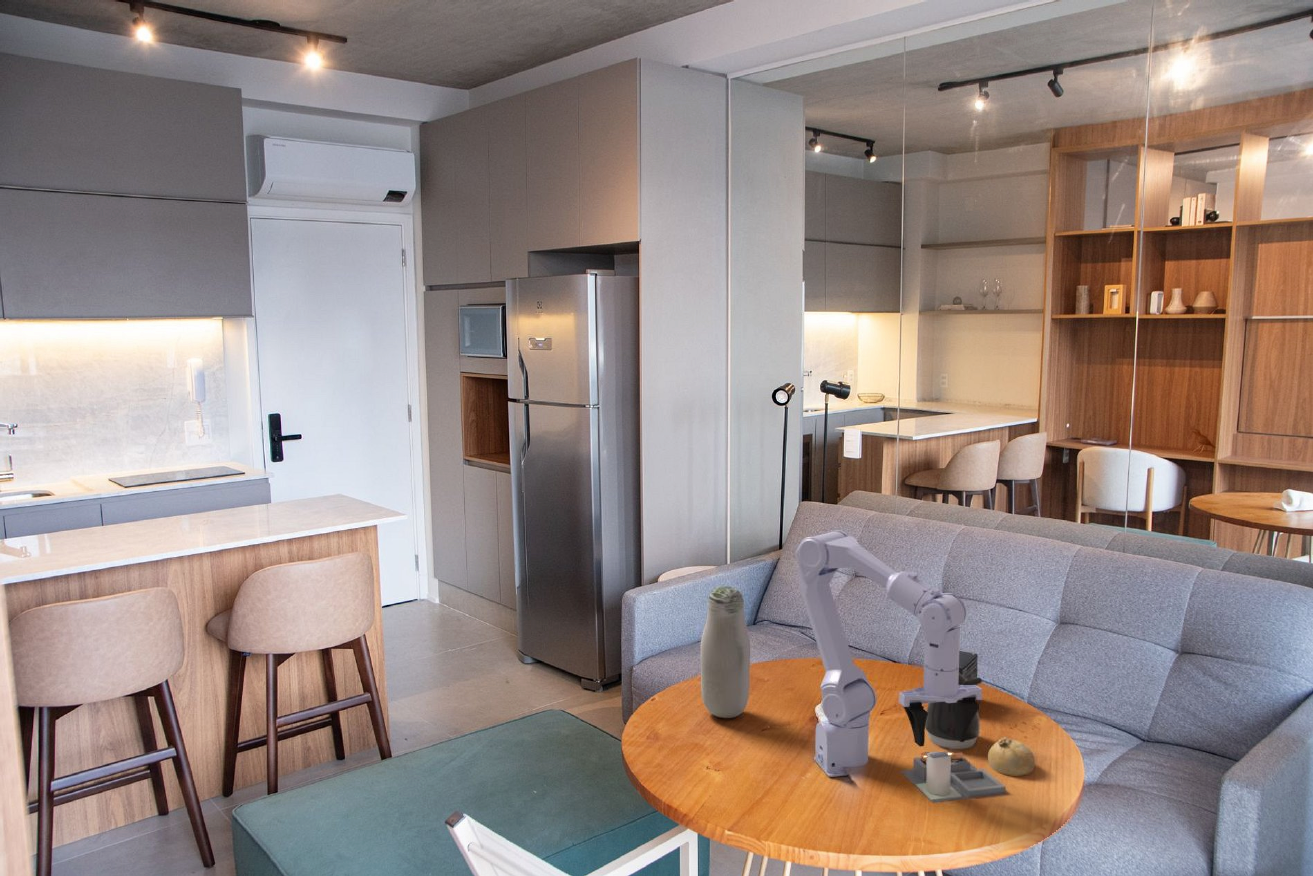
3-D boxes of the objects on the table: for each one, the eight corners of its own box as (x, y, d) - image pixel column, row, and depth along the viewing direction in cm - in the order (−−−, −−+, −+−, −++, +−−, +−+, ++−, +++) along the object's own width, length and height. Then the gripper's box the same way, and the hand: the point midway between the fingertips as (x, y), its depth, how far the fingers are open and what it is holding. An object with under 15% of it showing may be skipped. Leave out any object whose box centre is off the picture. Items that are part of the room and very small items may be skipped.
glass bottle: (692, 717, 200) (691, 588, 197) (721, 702, 207) (721, 578, 204) (730, 729, 193) (729, 596, 190) (758, 713, 201) (758, 586, 198)
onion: (1001, 761, 178) (1002, 725, 177) (1042, 775, 172) (1043, 738, 171) (979, 774, 172) (981, 737, 171) (1021, 789, 166) (1022, 751, 166)
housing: (932, 811, 159) (932, 789, 159) (899, 778, 171) (900, 758, 170) (1006, 802, 162) (1007, 781, 161) (969, 771, 174) (970, 751, 173)
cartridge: (934, 796, 160) (935, 759, 160) (921, 786, 164) (922, 750, 164) (955, 793, 161) (955, 756, 161) (941, 783, 165) (942, 747, 165)
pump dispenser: (983, 760, 178) (985, 683, 176) (926, 756, 180) (928, 680, 178) (976, 738, 188) (978, 664, 186) (922, 734, 190) (924, 661, 188)
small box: (949, 693, 212) (950, 648, 211) (978, 699, 208) (979, 653, 207) (932, 708, 203) (933, 661, 202) (962, 714, 199) (964, 667, 198)
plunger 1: (925, 774, 168) (925, 759, 167) (918, 767, 170) (918, 752, 170) (939, 773, 168) (940, 758, 168) (932, 766, 171) (932, 751, 171)
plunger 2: (951, 771, 169) (951, 756, 168) (943, 764, 171) (943, 750, 171) (965, 770, 169) (965, 755, 169) (957, 763, 172) (957, 748, 172)
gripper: (913, 677, 155) (911, 756, 157) (992, 670, 158) (990, 747, 160) (894, 663, 162) (892, 738, 163) (970, 656, 165) (968, 730, 166)
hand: (939, 742), depth 162 cm, fingers open, 7 cm apart
